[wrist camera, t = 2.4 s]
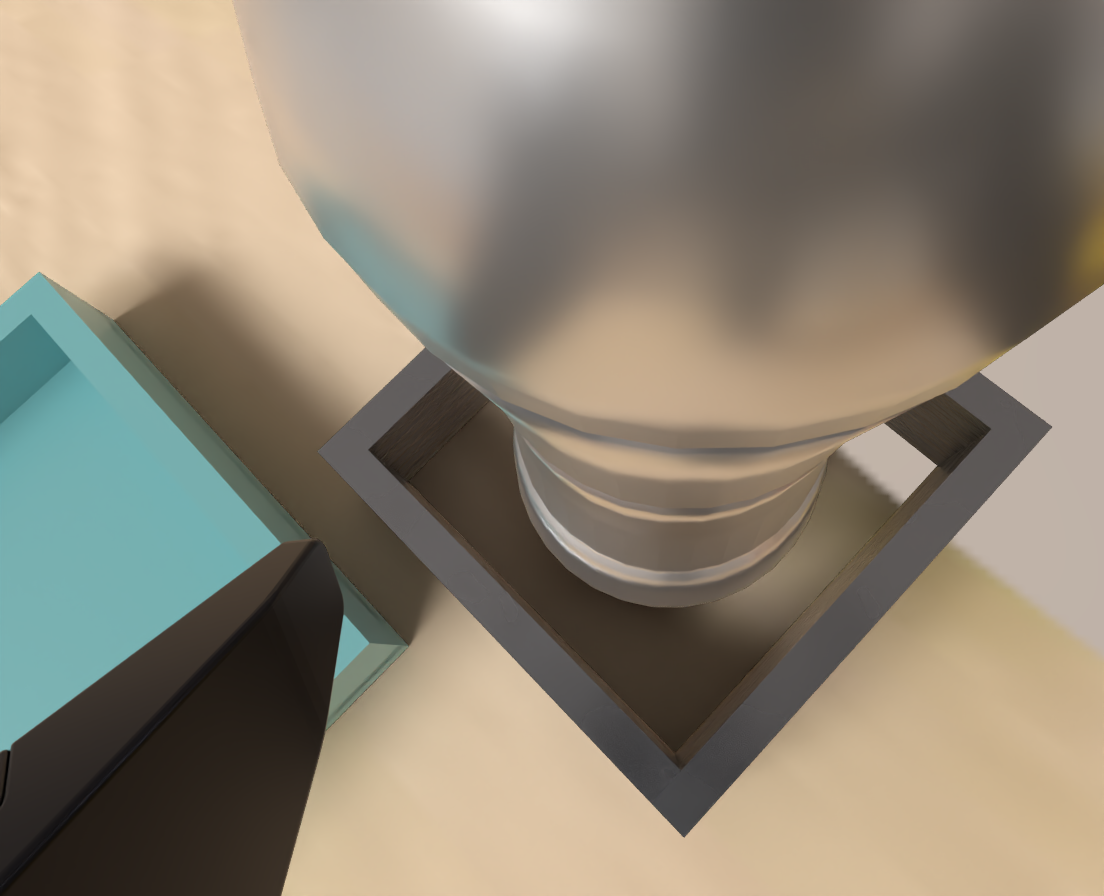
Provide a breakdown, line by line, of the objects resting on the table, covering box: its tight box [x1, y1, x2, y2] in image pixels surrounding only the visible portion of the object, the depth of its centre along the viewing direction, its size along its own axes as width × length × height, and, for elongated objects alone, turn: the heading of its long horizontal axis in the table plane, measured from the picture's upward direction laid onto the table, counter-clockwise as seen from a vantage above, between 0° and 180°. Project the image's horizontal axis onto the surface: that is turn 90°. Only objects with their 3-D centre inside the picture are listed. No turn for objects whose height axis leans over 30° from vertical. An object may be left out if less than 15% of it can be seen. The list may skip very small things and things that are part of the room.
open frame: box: [317, 347, 1052, 837], centre depth 18 cm, size 11×11×3 cm
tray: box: [0, 272, 409, 752], centre depth 18 cm, size 13×13×3 cm
